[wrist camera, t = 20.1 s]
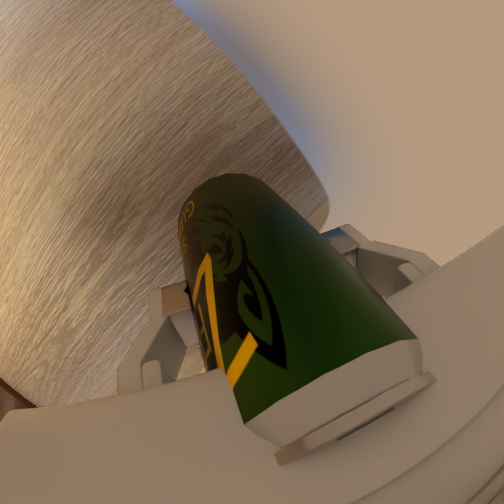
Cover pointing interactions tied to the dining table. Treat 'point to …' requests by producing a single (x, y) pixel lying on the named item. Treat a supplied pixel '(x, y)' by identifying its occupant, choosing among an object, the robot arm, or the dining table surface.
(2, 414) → the holder base
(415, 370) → the beer can
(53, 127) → the dining table surface
